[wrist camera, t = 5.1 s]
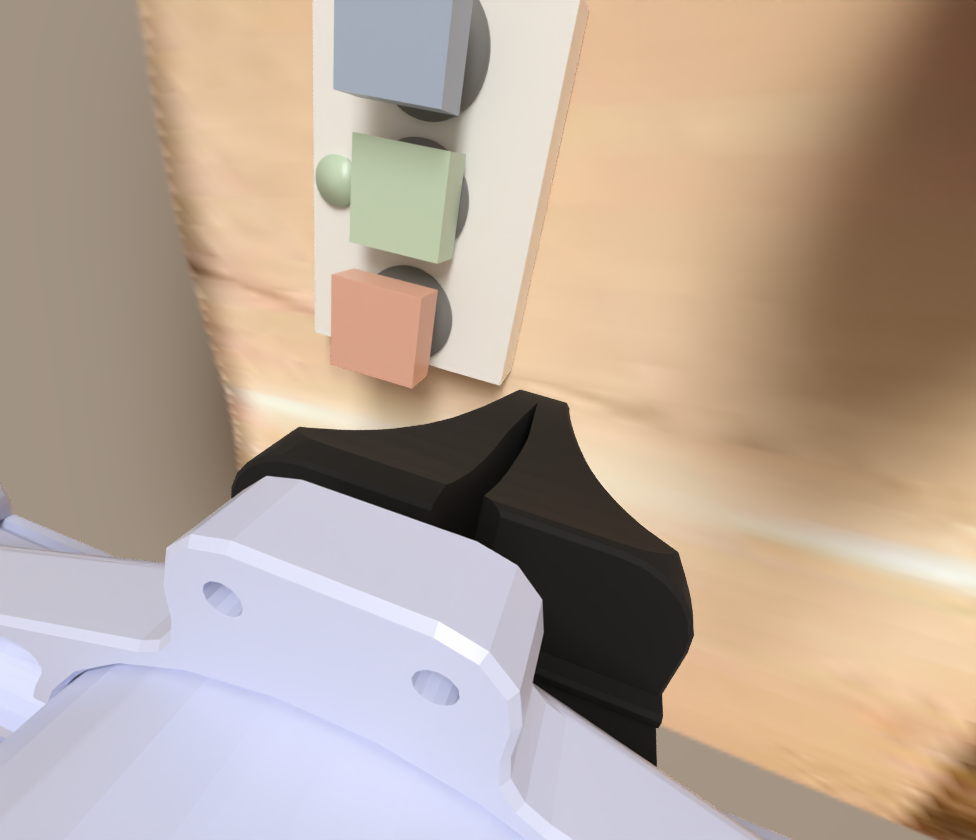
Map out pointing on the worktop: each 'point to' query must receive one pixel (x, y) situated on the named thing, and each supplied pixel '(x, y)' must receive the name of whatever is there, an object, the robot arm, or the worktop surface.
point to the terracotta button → (381, 326)
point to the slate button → (402, 51)
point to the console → (486, 180)
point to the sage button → (405, 197)
